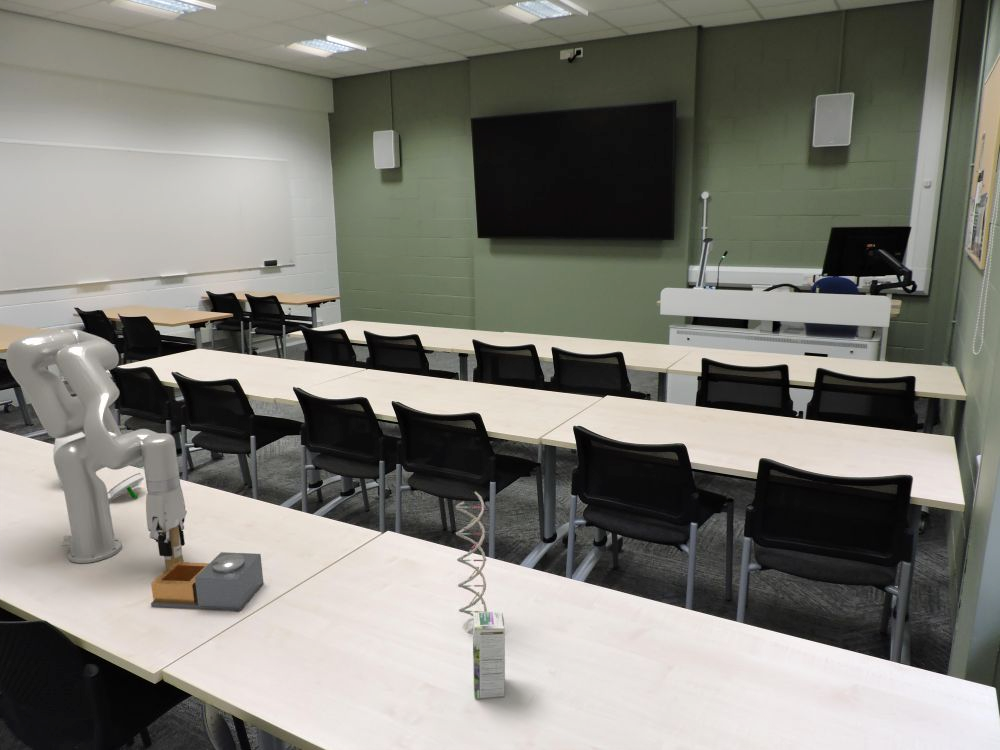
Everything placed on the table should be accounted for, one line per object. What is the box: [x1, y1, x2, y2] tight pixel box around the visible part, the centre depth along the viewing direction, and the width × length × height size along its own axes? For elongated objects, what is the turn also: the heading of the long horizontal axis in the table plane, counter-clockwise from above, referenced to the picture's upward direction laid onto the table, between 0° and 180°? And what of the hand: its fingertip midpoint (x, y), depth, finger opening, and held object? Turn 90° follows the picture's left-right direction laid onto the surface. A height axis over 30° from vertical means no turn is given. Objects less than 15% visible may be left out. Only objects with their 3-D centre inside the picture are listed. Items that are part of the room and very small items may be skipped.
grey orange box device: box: [150, 551, 265, 612], centre depth 165 cm, size 22×15×9 cm
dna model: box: [454, 491, 488, 634], centre depth 148 cm, size 7×6×30 cm
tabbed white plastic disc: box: [107, 472, 145, 500], centre depth 222 cm, size 15×8×11 cm
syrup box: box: [472, 611, 506, 700], centre depth 130 cm, size 6×6×14 cm
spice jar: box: [160, 519, 184, 570], centre depth 177 cm, size 5×5×14 cm
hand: (172, 549), depth 177 cm, fingers open, 4 cm apart
